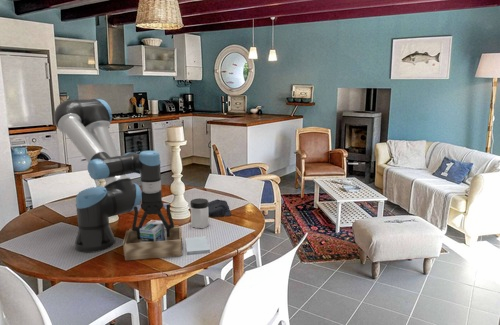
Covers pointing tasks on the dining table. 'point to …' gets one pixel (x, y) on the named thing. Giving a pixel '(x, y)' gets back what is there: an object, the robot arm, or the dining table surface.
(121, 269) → the dining table surface
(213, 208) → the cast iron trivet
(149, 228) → the light bulb box
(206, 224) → the jar
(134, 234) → the carton
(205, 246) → the tile
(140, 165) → the robot arm
